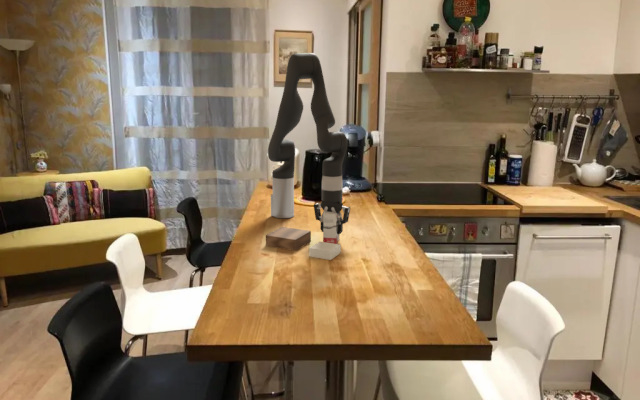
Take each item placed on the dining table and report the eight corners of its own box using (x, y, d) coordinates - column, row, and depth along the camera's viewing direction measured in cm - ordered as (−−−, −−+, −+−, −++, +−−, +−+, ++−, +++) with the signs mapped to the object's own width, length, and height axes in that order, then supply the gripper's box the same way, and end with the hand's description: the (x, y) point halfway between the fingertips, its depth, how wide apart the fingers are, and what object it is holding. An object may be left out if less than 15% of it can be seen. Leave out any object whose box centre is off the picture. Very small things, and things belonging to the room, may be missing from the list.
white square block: (309, 256, 174) (309, 247, 173) (319, 249, 181) (319, 241, 180) (330, 259, 171) (330, 251, 170) (340, 252, 178) (340, 244, 177)
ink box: (335, 245, 185) (336, 214, 183) (322, 244, 186) (322, 213, 184) (339, 238, 194) (340, 208, 191) (327, 237, 195) (327, 207, 192)
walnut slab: (265, 245, 185) (265, 235, 184) (282, 236, 195) (282, 226, 194) (295, 250, 180) (295, 239, 179) (310, 241, 190) (310, 230, 189)
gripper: (309, 187, 185) (309, 232, 189) (346, 191, 179) (345, 238, 183) (318, 184, 192) (318, 227, 196) (354, 187, 186) (353, 232, 189)
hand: (331, 232), depth 189 cm, fingers closed on ink box, 5 cm apart
